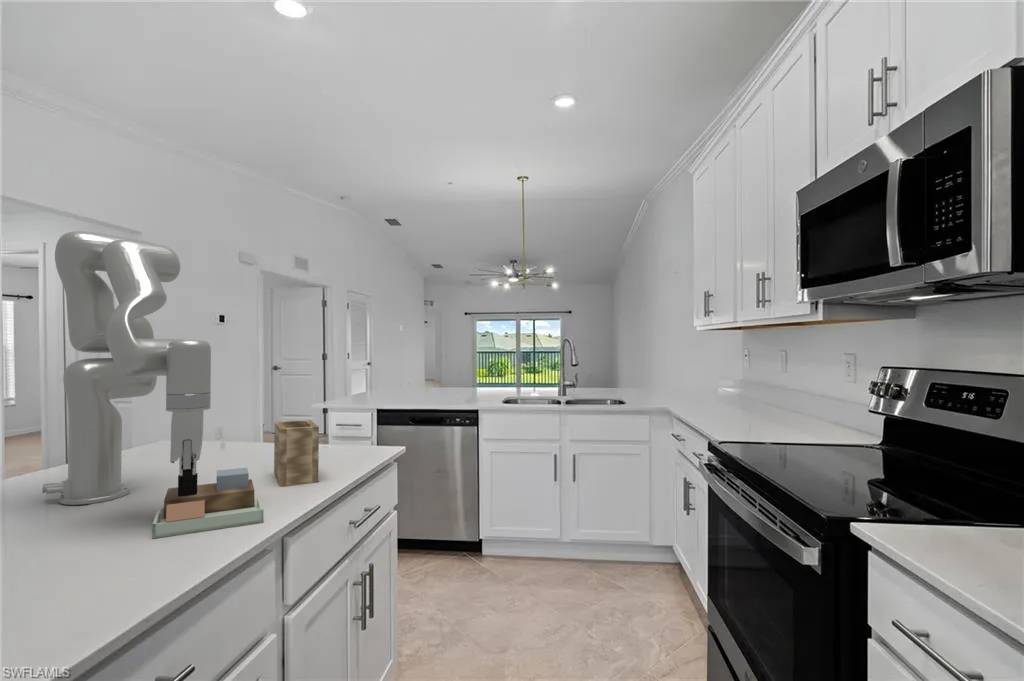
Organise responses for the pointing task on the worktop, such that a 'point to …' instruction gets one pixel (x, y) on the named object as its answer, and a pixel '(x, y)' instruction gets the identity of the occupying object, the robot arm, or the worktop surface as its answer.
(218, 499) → the walnut board
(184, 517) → the terracotta tile
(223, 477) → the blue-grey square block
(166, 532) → the tray
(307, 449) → the utensil caddy
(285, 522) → the worktop surface
